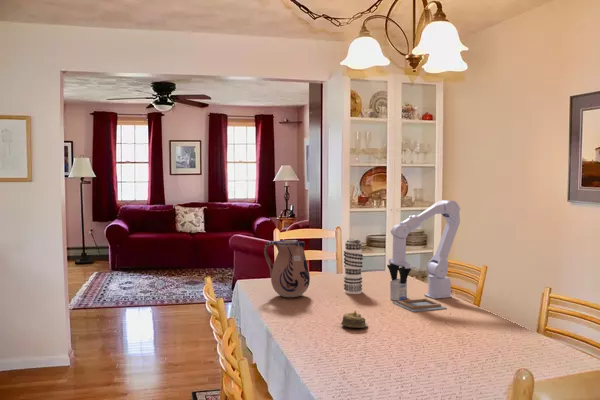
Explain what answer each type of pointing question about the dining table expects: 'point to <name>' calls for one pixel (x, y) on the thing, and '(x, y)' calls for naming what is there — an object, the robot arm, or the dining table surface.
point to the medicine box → (398, 290)
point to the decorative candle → (353, 266)
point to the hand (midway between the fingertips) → (398, 281)
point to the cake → (353, 320)
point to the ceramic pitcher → (288, 268)
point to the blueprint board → (419, 305)
